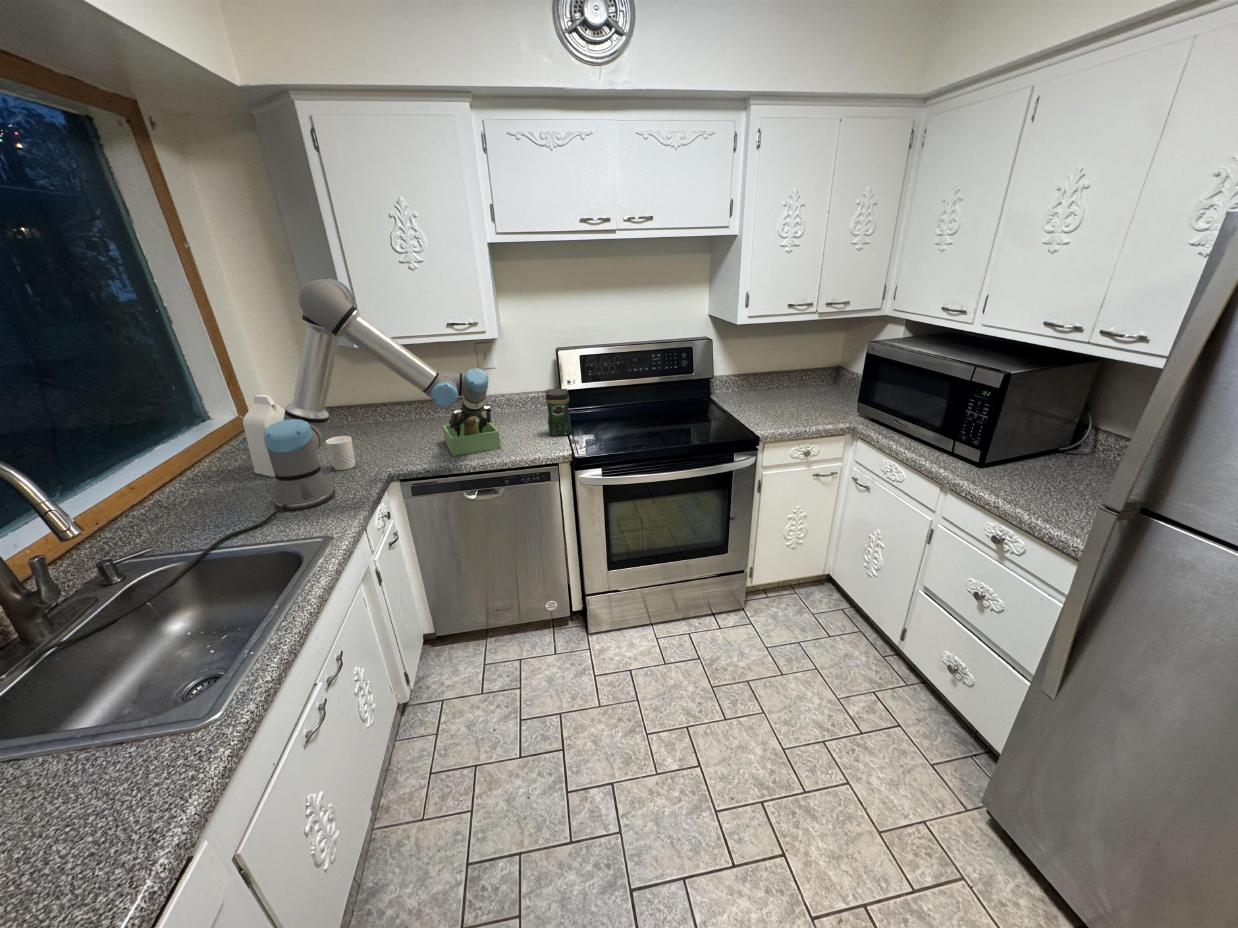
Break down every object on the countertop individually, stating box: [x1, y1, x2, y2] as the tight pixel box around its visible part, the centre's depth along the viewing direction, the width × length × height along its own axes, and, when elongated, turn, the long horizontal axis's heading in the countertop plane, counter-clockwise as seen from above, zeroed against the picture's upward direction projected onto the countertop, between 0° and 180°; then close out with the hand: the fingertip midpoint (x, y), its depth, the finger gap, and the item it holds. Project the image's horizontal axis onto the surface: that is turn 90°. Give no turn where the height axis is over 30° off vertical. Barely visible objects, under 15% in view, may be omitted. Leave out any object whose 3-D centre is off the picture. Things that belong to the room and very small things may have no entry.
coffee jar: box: [544, 388, 572, 437], centre depth 203 cm, size 10×8×19 cm
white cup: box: [325, 435, 356, 471], centre depth 174 cm, size 8×8×10 cm
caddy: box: [442, 419, 501, 457], centre depth 194 cm, size 18×18×7 cm
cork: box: [463, 416, 478, 436], centre depth 193 cm, size 6×6×11 cm
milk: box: [242, 394, 285, 478], centre depth 169 cm, size 12×12×26 cm
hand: (468, 431), depth 196 cm, fingers open, 8 cm apart
